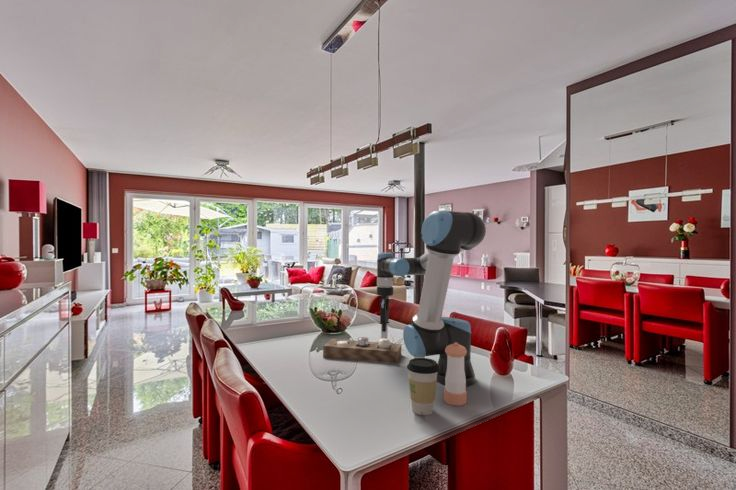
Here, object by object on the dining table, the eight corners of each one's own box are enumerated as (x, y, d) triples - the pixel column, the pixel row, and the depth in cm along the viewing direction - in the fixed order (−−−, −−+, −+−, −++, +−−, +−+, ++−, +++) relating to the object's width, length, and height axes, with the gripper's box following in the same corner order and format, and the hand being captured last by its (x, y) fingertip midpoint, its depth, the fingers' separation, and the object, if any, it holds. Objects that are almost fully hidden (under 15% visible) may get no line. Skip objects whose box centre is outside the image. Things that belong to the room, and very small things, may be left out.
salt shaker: (467, 406, 114) (468, 346, 114) (443, 404, 115) (444, 344, 116) (465, 397, 121) (466, 340, 121) (443, 395, 123) (444, 339, 123)
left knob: (348, 351, 170) (348, 341, 170) (345, 355, 165) (345, 344, 165) (338, 351, 171) (338, 340, 171) (335, 354, 166) (335, 343, 166)
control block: (401, 354, 168) (401, 344, 168) (397, 363, 155) (397, 351, 155) (332, 349, 176) (332, 338, 176) (323, 356, 163) (323, 345, 163)
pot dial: (369, 348, 167) (369, 336, 167) (366, 351, 163) (367, 339, 163) (359, 347, 168) (359, 335, 169) (356, 350, 164) (356, 338, 164)
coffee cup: (417, 400, 118) (417, 355, 118) (444, 409, 111) (444, 361, 112) (400, 411, 110) (400, 362, 110) (428, 421, 104) (429, 369, 104)
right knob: (390, 349, 165) (390, 339, 165) (388, 353, 160) (388, 341, 160) (379, 349, 166) (380, 338, 166) (377, 352, 161) (377, 341, 161)
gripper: (390, 288, 156) (390, 342, 156) (395, 285, 169) (394, 335, 169) (374, 287, 158) (373, 341, 158) (379, 284, 171) (378, 334, 171)
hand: (384, 338), depth 163 cm, fingers closed
